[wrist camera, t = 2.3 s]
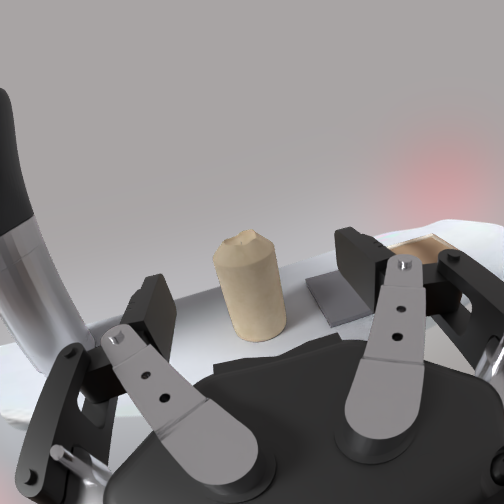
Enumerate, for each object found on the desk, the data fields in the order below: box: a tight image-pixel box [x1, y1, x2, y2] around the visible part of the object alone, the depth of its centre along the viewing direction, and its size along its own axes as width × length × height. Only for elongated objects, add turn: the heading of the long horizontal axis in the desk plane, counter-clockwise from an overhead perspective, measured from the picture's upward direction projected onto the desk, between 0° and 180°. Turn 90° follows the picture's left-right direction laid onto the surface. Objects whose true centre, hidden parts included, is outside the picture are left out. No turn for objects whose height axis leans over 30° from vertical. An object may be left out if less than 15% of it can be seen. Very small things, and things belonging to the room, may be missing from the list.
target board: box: [387, 234, 458, 264], centre depth 30 cm, size 11×10×1 cm
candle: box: [213, 229, 286, 342], centre depth 26 cm, size 6×6×10 cm
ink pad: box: [305, 270, 374, 327], centre depth 29 cm, size 9×9×1 cm
